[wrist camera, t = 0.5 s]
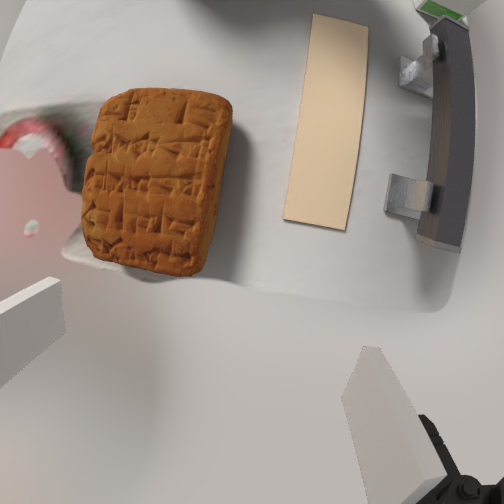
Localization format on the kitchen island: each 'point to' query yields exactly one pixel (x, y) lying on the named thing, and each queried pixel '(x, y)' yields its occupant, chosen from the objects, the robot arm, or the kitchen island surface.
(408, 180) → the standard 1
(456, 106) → the rail
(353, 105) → the mat
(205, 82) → the kitchen island surface
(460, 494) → the robot arm
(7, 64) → the kitchen island surface
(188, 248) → the inscribed clay slab
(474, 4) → the skincare box
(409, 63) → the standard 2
